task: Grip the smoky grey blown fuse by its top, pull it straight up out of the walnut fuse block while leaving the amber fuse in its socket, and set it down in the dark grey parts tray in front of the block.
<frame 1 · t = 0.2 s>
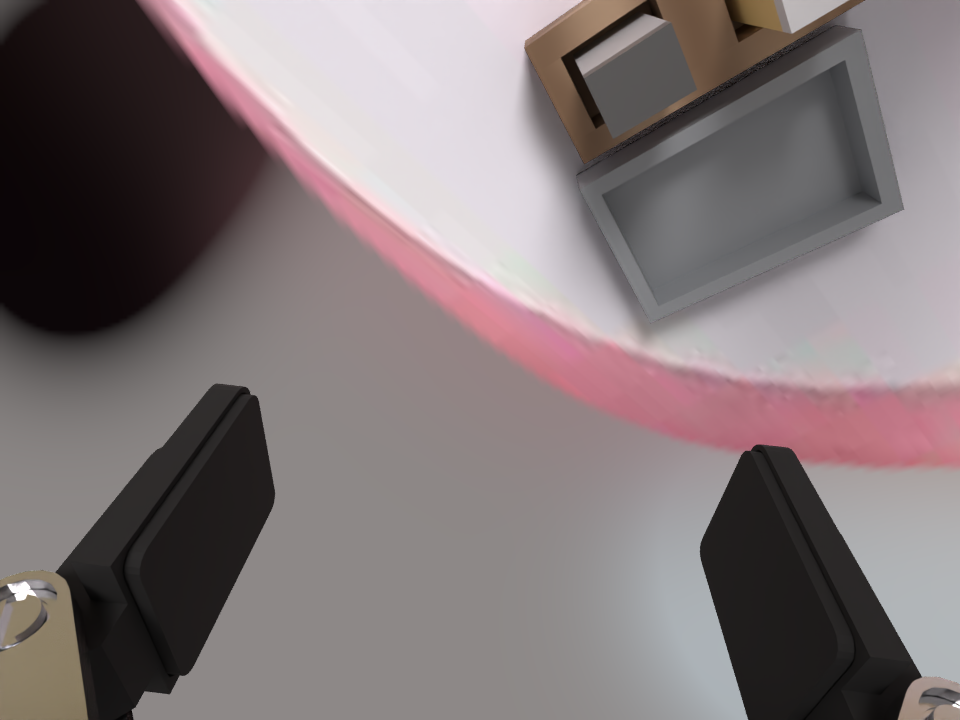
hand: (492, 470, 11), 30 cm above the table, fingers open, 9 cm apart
fuse block: (679, 14, 31), on the table
parts tray: (725, 184, 36), on the table
blown fuse: (616, 59, 32), point 1 cm above the table, touching fuse block
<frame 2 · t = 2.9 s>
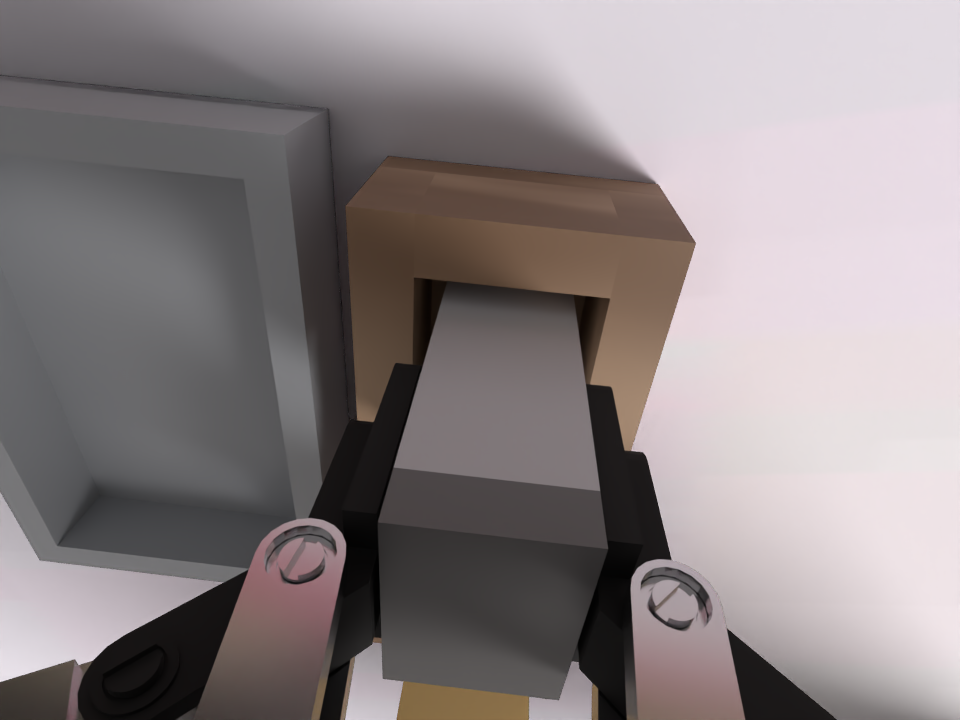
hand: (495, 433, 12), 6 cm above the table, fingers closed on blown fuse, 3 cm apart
fuse block: (493, 410, 19), on the table
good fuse: (481, 513, 20), point 1 cm above the table, touching fuse block
parts tray: (181, 351, 19), on the table
blown fuse: (504, 323, 16), point 1 cm above the table, touching fuse block, gripper
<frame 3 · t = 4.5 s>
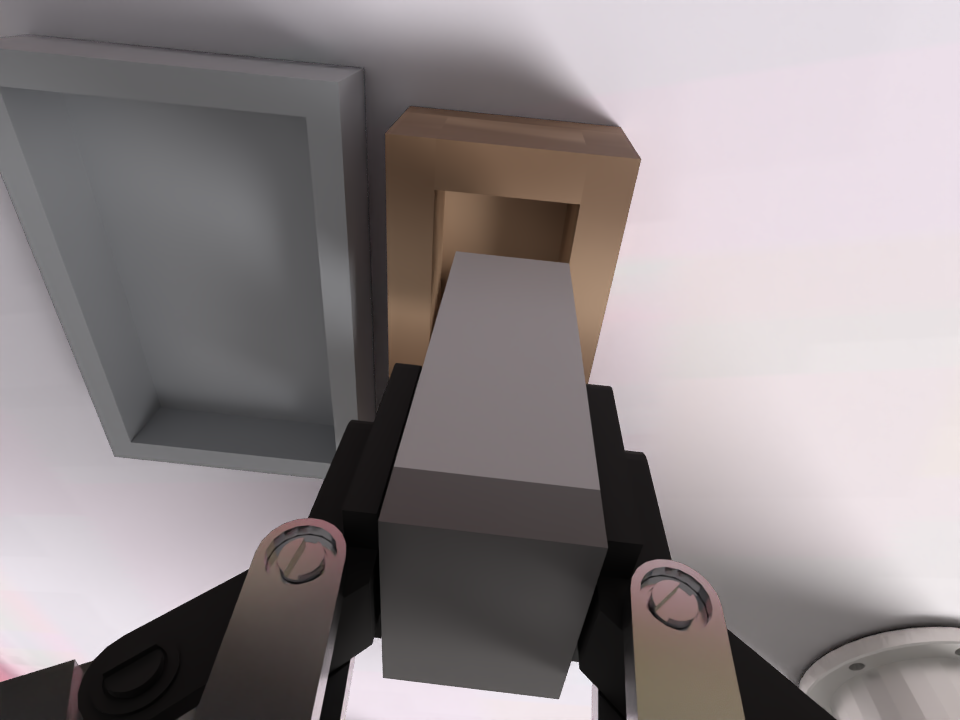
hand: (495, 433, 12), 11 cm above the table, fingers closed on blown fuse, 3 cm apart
fuse block: (492, 323, 23), on the table
parts tray: (236, 275, 23), on the table
blown fuse: (504, 322, 16), point 6 cm above the table, touching gripper
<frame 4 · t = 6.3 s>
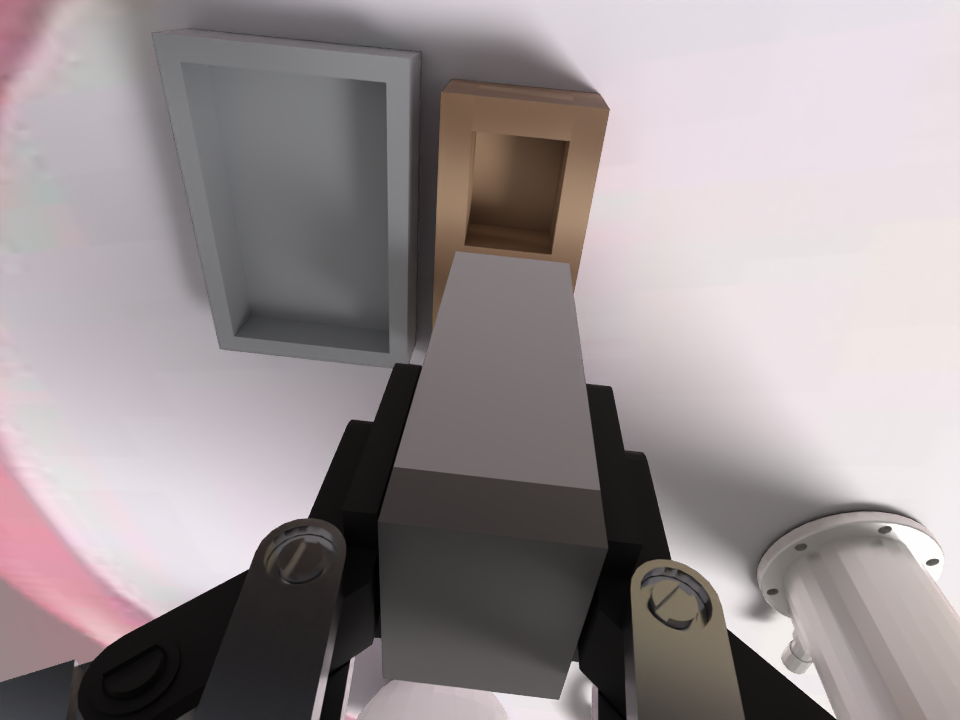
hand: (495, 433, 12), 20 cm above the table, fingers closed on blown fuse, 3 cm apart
fuse block: (507, 245, 31), on the table
parts tray: (318, 208, 30), on the table
vase: (442, 688, 59), on the table
blown fuse: (504, 322, 16), point 15 cm above the table, touching gripper
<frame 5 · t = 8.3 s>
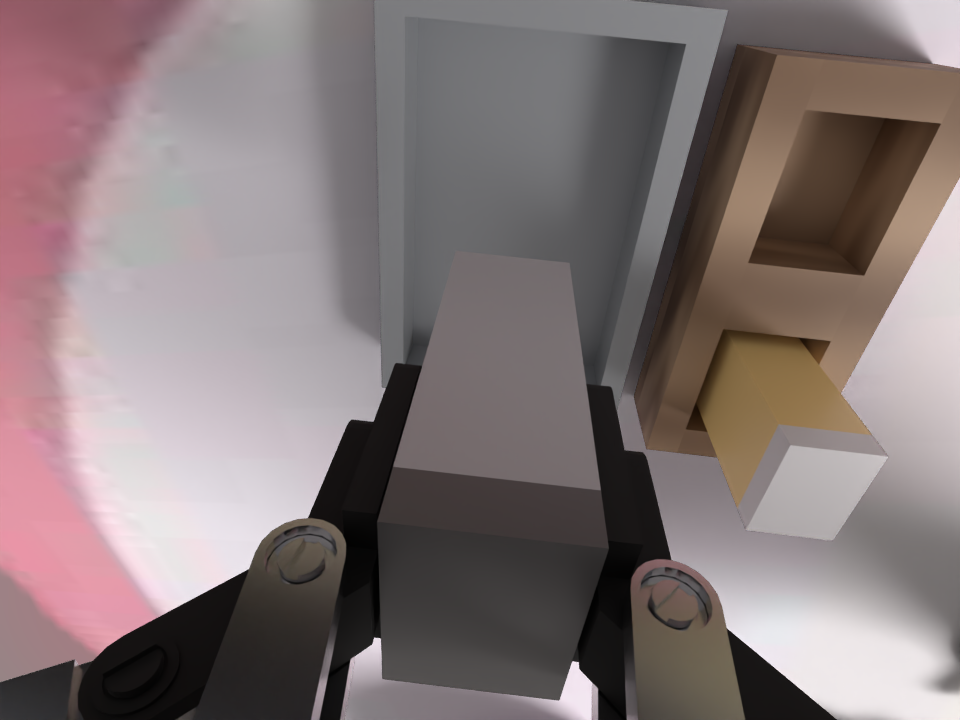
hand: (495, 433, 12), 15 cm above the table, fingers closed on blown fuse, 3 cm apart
fuse block: (756, 261, 24), on the table
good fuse: (732, 349, 26), point 1 cm above the table, touching fuse block
parts tray: (520, 213, 24), on the table
blown fuse: (504, 322, 16), point 10 cm above the table, touching gripper
when the fingers open (7 cm above the table, at t = 9.8 s): blown fuse drops 2 cm, resting on parts tray.
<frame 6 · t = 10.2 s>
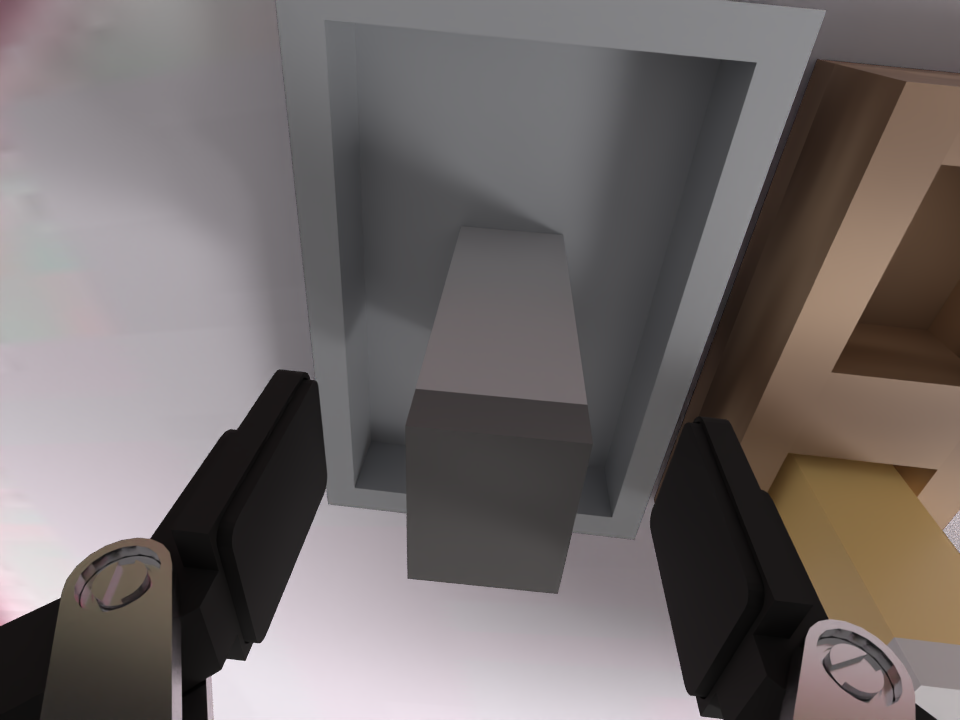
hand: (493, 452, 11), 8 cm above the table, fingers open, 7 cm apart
fuse block: (822, 344, 18), on the table
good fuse: (787, 454, 20), point 1 cm above the table, touching fuse block
parts tray: (507, 282, 18), on the table
blown fuse: (506, 291, 17), point 1 cm above the table, touching parts tray
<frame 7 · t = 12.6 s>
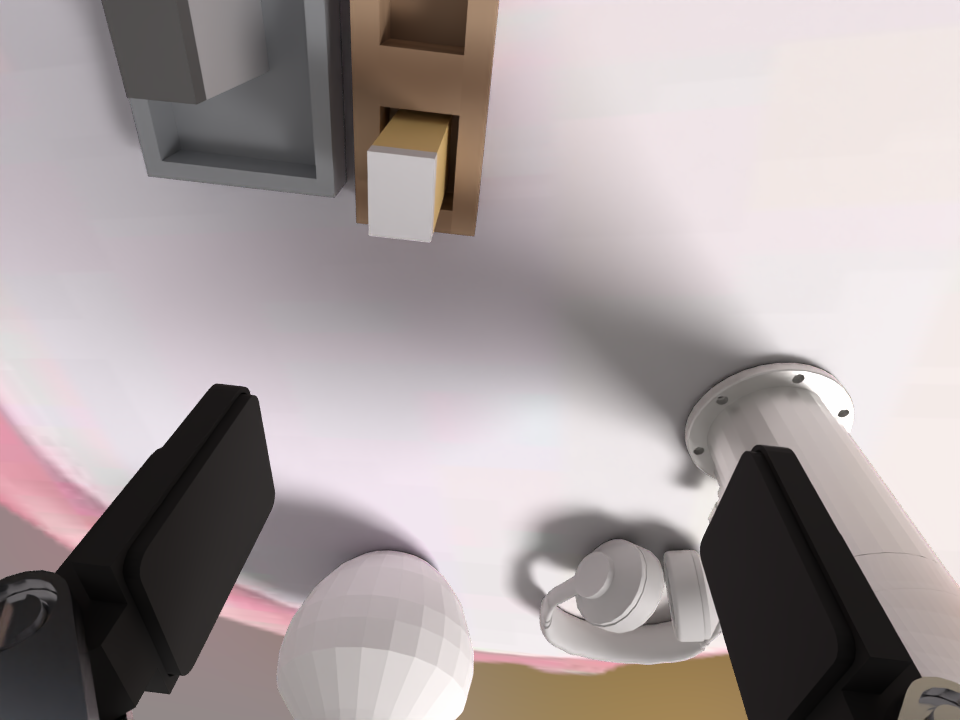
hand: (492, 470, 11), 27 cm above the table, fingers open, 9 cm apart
headphones: (627, 581, 60), on the table
fuse block: (430, 69, 32), on the table
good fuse: (424, 146, 33), point 1 cm above the table, touching fuse block
parts tray: (241, 26, 31), on the table
vase: (394, 575, 61), on the table
blown fuse: (236, 27, 30), point 1 cm above the table, touching parts tray
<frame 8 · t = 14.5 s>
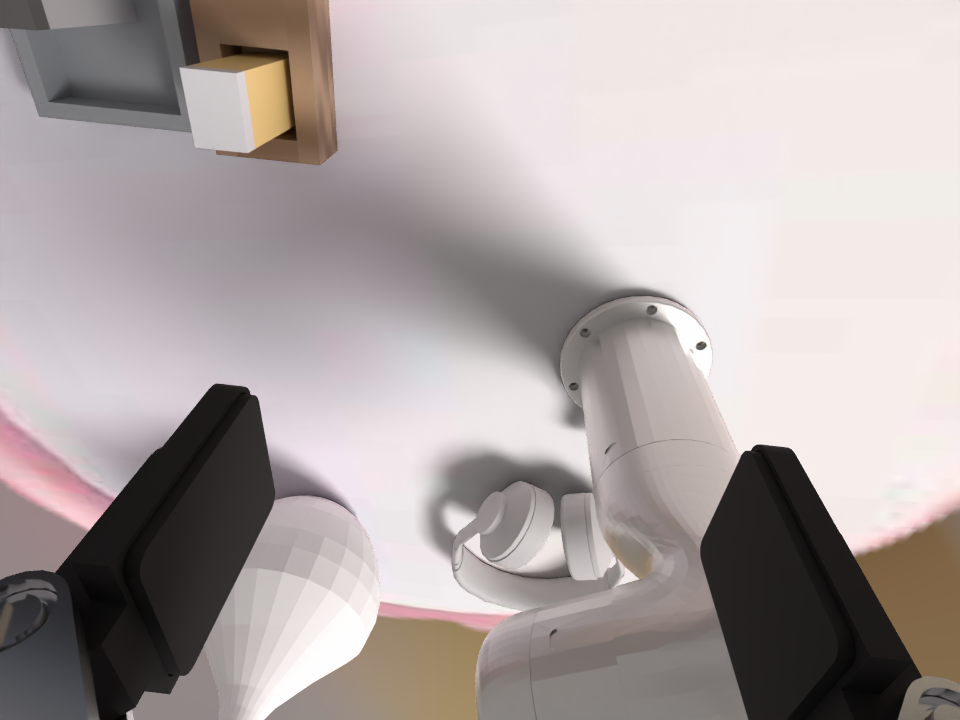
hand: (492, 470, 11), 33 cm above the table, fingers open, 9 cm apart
headphones: (538, 529, 62), on the table
fuse block: (276, 17, 36), on the table
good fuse: (277, 87, 38), point 1 cm above the table, touching fuse block
vase: (317, 523, 64), on the table
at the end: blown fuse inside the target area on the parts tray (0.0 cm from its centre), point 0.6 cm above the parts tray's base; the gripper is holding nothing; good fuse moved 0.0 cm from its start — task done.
